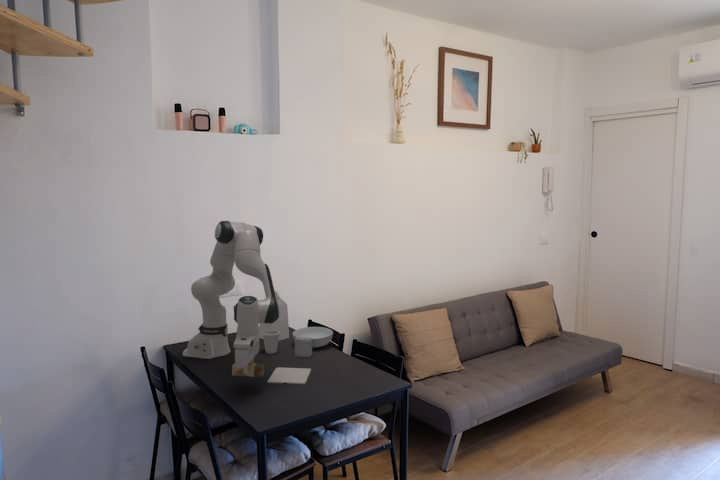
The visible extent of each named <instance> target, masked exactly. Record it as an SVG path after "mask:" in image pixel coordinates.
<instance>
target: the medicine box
mask: <svg viewBox="0 0 720 480" xmlns="http://www.w3.org/2000/svg"><path fill="white" fill-rule="evenodd" d="M293 340H294V339H293ZM312 355H313V348H312V338H309V337H296V339H295V340H294V357H295V358H296V357H298V358H300V357H301V358H302V357H303V358H311V356H312Z"/></svg>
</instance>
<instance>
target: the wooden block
mask: <svg viewBox="0 0 720 480" xmlns="http://www.w3.org/2000/svg"><path fill="white" fill-rule="evenodd" d="M248 368H249V372H248V373H247V374H244V372H243V368H237V367H236V363H235V362H234V363H233V364H232V365H231V376H236V377H237V376H238V377H251V378H252V377H254V378H255V377H256V378H262V377H263V376H264V374H265V363H261V362H260V363H258V362H257V363H256V362H253V363H249V364H248Z"/></svg>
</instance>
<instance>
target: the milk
mask: <svg viewBox="0 0 720 480" xmlns="http://www.w3.org/2000/svg"><path fill="white" fill-rule="evenodd" d="M274 292H275V296H276V300H277V303H278V306H279V310H280V314H279V318H278V319H277V320H276V321H275V322H274V323H272V324H269V323H258V326H259V339H262V340H264V338H263V334H262V333H263V332H264V331H266V330H277V331H279V332H280V333H279V338H278V342H279V341H282V340H287V339H289V338H290V328H289V327H290V326H289V312H288V309H289V308H288V304H287V303H286V302H285V300H283V299H282V298H281V297H280V295H279V294H280V293H279V291H277V290H274ZM265 299H266V297H264V299H263V300H265ZM286 338H287V339H286Z"/></svg>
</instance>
